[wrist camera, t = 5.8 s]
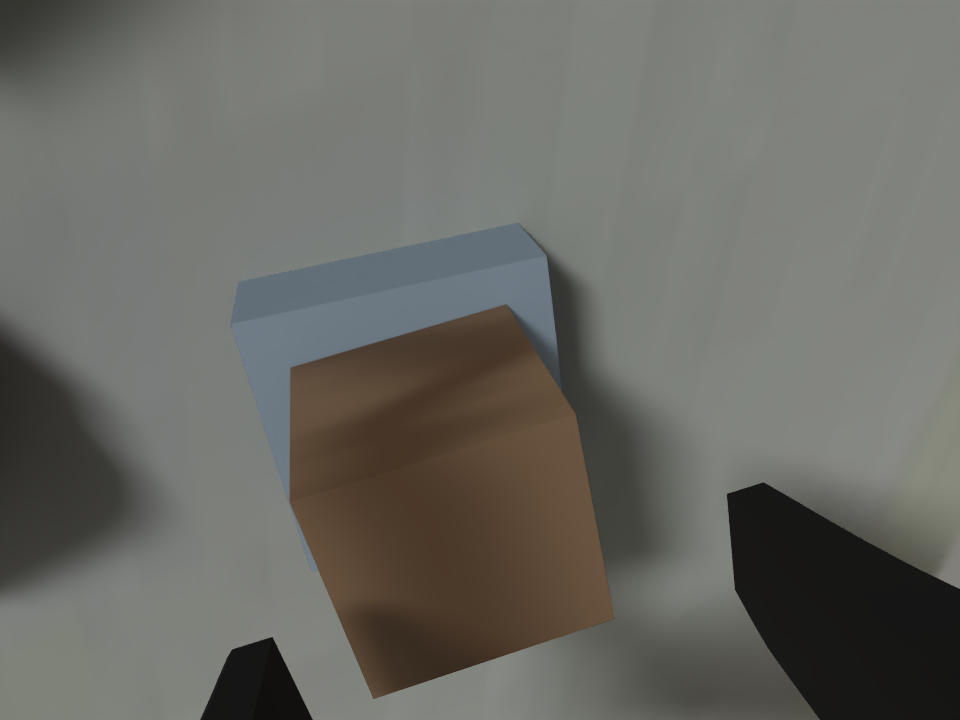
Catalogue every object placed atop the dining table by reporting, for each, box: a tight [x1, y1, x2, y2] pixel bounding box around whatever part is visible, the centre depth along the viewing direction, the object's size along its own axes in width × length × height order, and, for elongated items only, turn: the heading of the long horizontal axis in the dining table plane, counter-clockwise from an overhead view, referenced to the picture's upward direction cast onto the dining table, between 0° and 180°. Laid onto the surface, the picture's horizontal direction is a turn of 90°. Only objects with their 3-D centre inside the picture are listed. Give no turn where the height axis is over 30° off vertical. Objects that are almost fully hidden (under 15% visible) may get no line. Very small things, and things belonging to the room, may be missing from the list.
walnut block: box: [289, 304, 614, 699], centre depth 17 cm, size 5×5×5 cm
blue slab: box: [230, 223, 563, 572], centre depth 20 cm, size 7×7×3 cm
